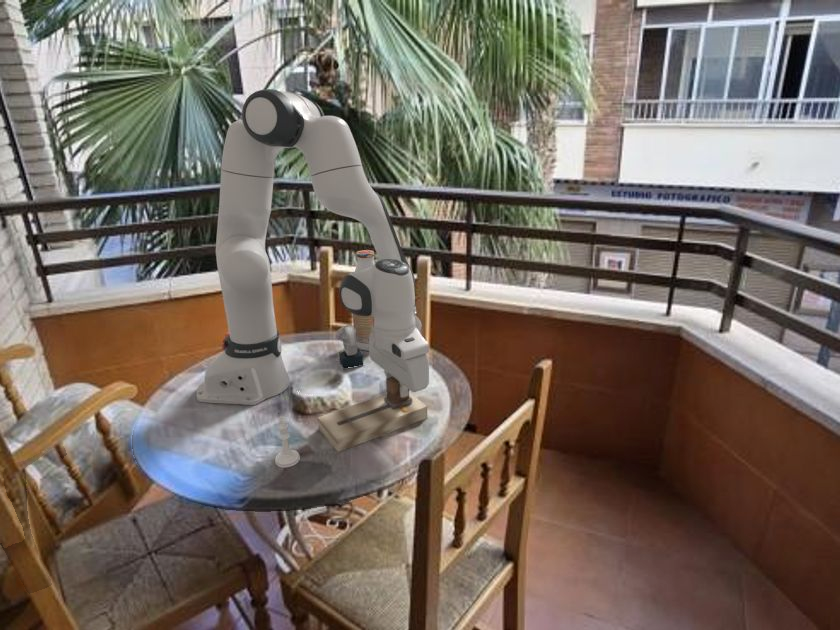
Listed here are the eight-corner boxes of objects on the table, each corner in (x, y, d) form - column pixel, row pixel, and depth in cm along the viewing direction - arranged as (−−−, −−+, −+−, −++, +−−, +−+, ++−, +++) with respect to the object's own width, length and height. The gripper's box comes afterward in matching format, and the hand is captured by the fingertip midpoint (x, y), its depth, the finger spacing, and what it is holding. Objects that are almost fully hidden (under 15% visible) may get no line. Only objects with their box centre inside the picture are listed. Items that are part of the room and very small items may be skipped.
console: (338, 452, 110) (336, 439, 109) (318, 429, 118) (317, 416, 116) (427, 417, 121) (427, 405, 120) (404, 398, 129) (403, 387, 127)
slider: (393, 409, 118) (392, 385, 116) (384, 401, 122) (382, 378, 119) (412, 402, 121) (411, 379, 119) (403, 395, 124) (402, 372, 122)
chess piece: (292, 449, 111) (286, 407, 107) (304, 460, 108) (299, 417, 104) (270, 459, 108) (264, 417, 104) (282, 470, 105) (276, 427, 101)
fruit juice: (357, 353, 152) (350, 258, 142) (352, 340, 161) (345, 249, 150) (390, 348, 154) (385, 254, 144) (383, 336, 163) (378, 246, 152)
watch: (357, 356, 151) (354, 319, 147) (365, 368, 144) (362, 330, 140) (337, 359, 149) (334, 323, 145) (344, 372, 142) (341, 334, 138)
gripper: (360, 323, 122) (364, 377, 127) (407, 356, 106) (409, 416, 111) (384, 317, 125) (387, 369, 130) (434, 347, 109) (435, 406, 114)
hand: (398, 391), depth 120 cm, fingers closed on slider, 3 cm apart
